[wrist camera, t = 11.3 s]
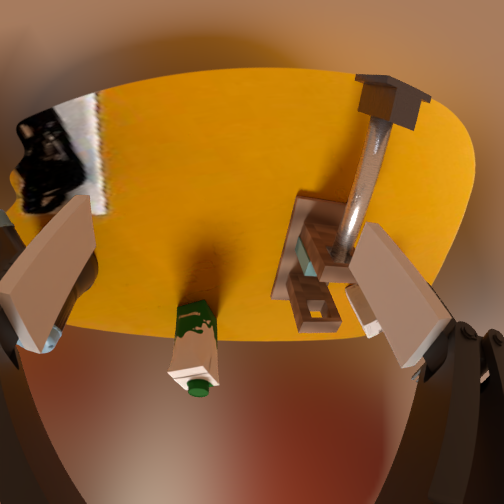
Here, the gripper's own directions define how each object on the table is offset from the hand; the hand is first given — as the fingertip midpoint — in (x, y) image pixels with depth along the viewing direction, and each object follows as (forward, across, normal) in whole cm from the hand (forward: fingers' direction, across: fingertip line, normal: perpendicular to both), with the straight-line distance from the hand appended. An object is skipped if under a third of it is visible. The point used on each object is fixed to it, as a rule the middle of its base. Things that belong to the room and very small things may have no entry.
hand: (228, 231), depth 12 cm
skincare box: (+35, +35, -33) cm, 59 cm away
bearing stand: (+35, +20, -23) cm, 46 cm away
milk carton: (+35, -2, -42) cm, 55 cm away
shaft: (+28, +20, -3) cm, 34 cm away
